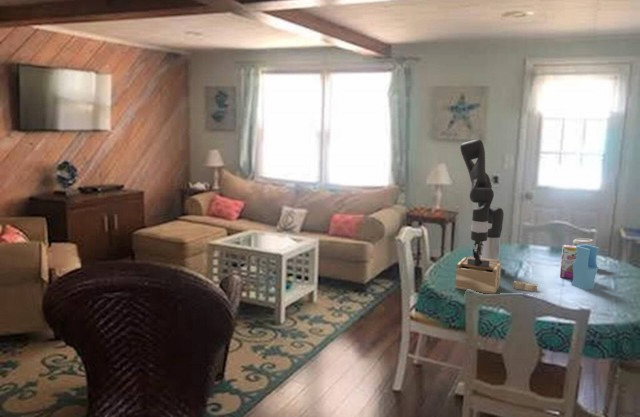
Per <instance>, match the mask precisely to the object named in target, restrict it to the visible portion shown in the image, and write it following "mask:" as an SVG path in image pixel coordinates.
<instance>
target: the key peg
mask: <svg viewBox="0 0 640 417" xmlns="http://www.w3.org/2000/svg"><path fill="white" fill-rule="evenodd" d="M512 288H513V289H516V290H524V291H530V292H537V290H538V283H532V282H525V281H524V282H523V281H518V280H514V281H513V285H512Z"/></svg>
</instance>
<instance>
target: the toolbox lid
mask: <svg viewBox="0 0 640 417" xmlns="http://www.w3.org/2000/svg"><path fill="white" fill-rule="evenodd" d="M499 262H501V260H500V259H499V260H493V259H486V258H480V266H475V258H474V256H471V255H469V256H468V257H467V259H466V260H465V261H464V262H463V263H462V266H466V267H473V268H480V269H487V270H493V269H494V268H495V266H496V265H497V264H498V263H499Z"/></svg>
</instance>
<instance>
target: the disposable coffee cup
mask: <svg viewBox="0 0 640 417" xmlns="http://www.w3.org/2000/svg"><path fill="white" fill-rule="evenodd" d="M583 244H586V245H591V246H595V243H594V239H592V238H574V239H573V240H572V246H577V245H583Z"/></svg>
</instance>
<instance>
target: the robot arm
mask: <svg viewBox="0 0 640 417" xmlns="http://www.w3.org/2000/svg"><path fill="white" fill-rule="evenodd" d="M460 152H461V156H462V158H463V160H464V163H465V166H466V169H467V171H468V174H469V175H468V176H469V178H470V182H471V189H470V192H469V199H470V201H471V202H472V203H475V204H477V205H478V207H473V209H472V219H471V220H472V221H471V225H470V226H471V227H470V228H471V229H470V240H471V241H473V242H474V243H473V246H472V247H473V249H472V255H473V257H474V258H475V266H480V258H486V259H493V260H500V249H501V235H502V230H503V224H504V223H503V222H504V215H505V214H504V210H503V208H501V207H497V206H491V204H492V203H493V200H494V195H495V194H494V190H493V189H492V187H493V186H492V182H491V178H490V176H489V174H488V173H487V172H486V151H485V145H484V143H483V141H482V140H481V139H479V138H478V139H472V140H469V141H467V142H466V141H465V142H462V143H461V144H460ZM475 159H476V162H475V163H474V162H473V160H475ZM489 224H491V227H490V228H489Z"/></svg>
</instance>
